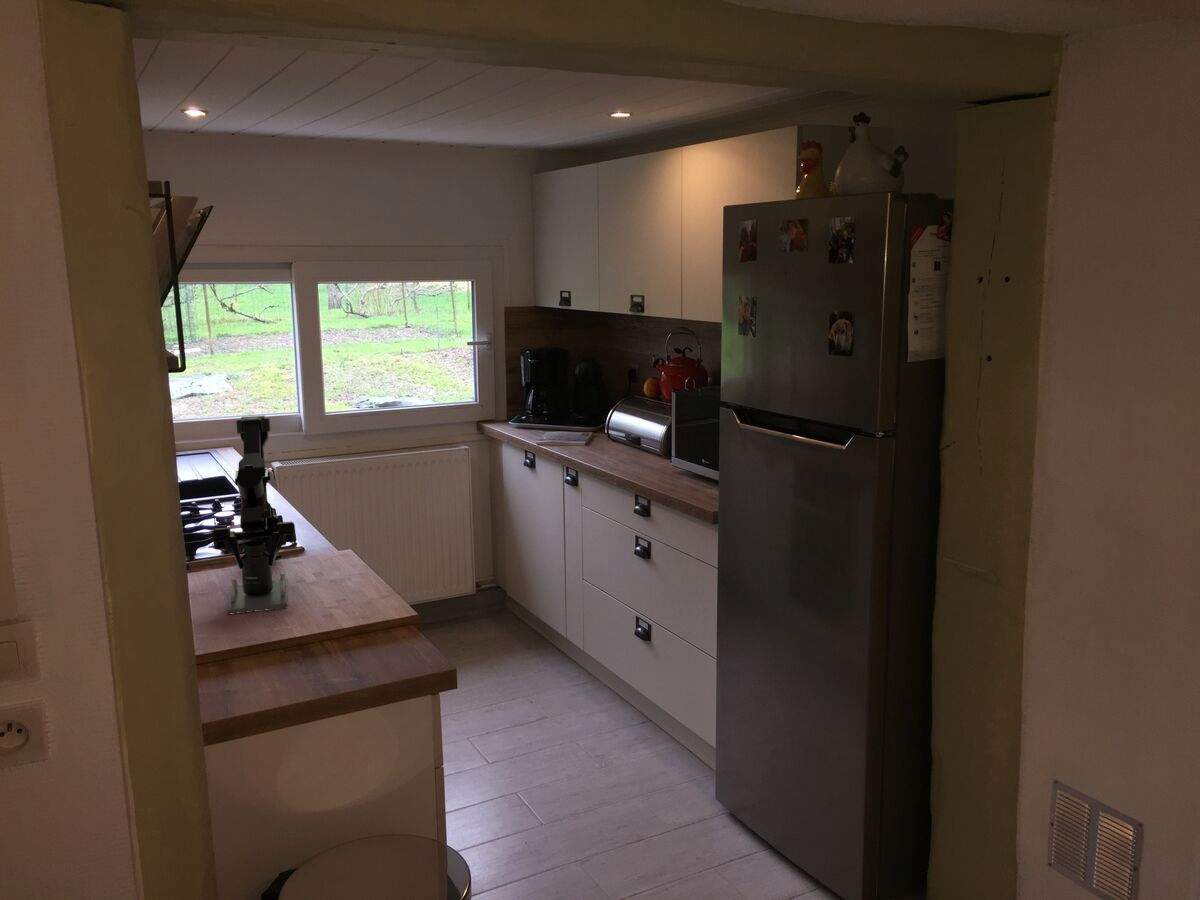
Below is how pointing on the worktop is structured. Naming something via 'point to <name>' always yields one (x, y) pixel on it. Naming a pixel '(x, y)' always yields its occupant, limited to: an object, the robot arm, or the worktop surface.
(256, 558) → the supplement bottle
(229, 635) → the worktop surface
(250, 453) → the robot arm
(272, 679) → the worktop surface
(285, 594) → the pin tray
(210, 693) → the worktop surface
